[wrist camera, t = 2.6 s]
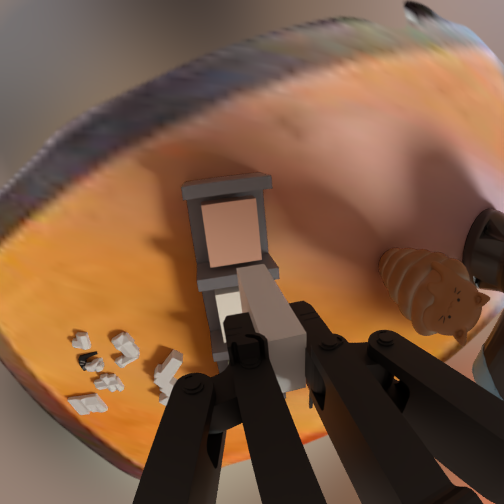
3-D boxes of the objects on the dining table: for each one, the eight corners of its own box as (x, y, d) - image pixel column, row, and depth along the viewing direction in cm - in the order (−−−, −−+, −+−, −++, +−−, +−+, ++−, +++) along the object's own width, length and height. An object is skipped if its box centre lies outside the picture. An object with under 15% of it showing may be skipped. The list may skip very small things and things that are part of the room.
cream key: (259, 277, 31) (264, 287, 29) (264, 323, 33) (268, 334, 31) (214, 285, 31) (215, 295, 28) (222, 330, 33) (224, 342, 30)
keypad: (259, 172, 30) (271, 175, 25) (276, 372, 40) (285, 398, 35) (184, 181, 29) (181, 187, 24) (222, 382, 39) (226, 409, 33)
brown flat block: (251, 195, 28) (255, 198, 26) (257, 251, 30) (261, 259, 28) (201, 201, 28) (201, 205, 25) (209, 259, 30) (210, 267, 27)
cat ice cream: (378, 220, 35) (484, 271, 18) (414, 240, 37) (509, 291, 20) (350, 281, 37) (435, 361, 20) (388, 294, 39) (469, 364, 22)
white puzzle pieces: (15, 318, 30) (8, 325, 28) (144, 272, 32) (140, 280, 30) (82, 411, 37) (79, 420, 35) (204, 389, 39) (204, 399, 37)
